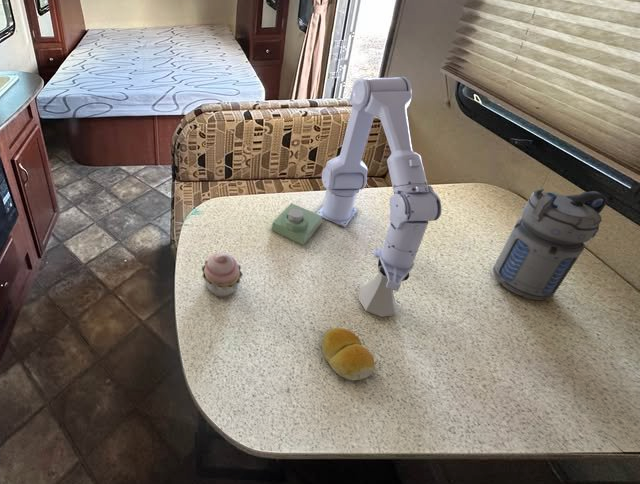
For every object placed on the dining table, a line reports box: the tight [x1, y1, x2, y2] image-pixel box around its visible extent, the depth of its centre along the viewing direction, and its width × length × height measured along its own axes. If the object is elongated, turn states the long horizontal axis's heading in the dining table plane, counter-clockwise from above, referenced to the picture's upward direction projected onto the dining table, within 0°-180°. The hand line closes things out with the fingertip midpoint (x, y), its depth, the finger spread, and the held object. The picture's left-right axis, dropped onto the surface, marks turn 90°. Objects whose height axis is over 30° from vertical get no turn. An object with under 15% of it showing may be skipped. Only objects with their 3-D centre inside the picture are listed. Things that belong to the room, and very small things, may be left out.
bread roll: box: [321, 327, 376, 382], centre depth 69 cm, size 8×9×4 cm
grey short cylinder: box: [288, 209, 303, 223], centre depth 98 cm, size 4×4×2 cm
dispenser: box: [271, 202, 323, 246], centre depth 101 cm, size 11×9×4 cm
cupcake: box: [201, 252, 244, 298], centre depth 83 cm, size 9×9×10 cm
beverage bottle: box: [492, 188, 609, 301], centre depth 77 cm, size 10×13×25 cm
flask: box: [358, 266, 397, 318], centre depth 77 cm, size 7×7×10 cm
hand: (385, 288), depth 80 cm, fingers closed, pressing on flask
